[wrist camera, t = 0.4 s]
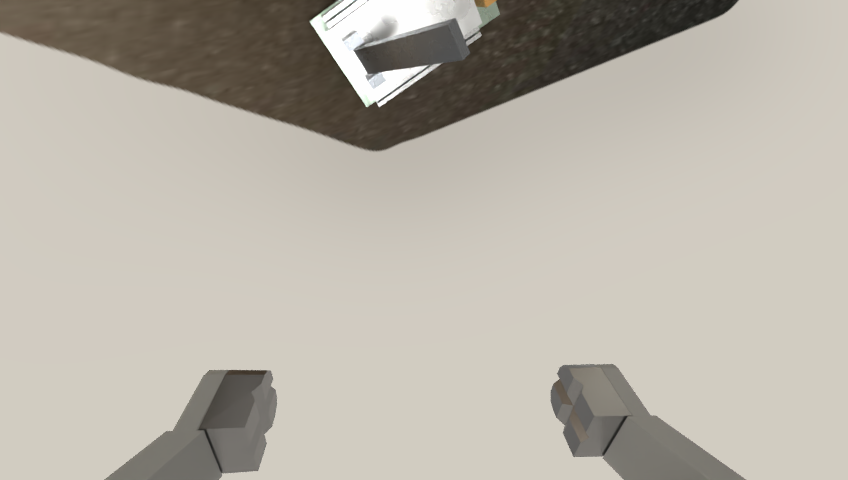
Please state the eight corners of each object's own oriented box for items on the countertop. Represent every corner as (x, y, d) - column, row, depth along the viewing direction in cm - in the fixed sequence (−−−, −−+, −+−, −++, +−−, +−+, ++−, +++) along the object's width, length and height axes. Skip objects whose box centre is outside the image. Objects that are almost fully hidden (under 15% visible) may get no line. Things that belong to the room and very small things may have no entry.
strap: (371, 69, 43) (366, 74, 43) (357, 46, 41) (351, 51, 41) (470, 53, 30) (463, 60, 30) (455, 17, 28) (448, 24, 28)
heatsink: (365, 104, 51) (373, 119, 45) (309, 20, 43) (310, 25, 37) (495, 13, 49) (521, 17, 43) (459, -91, 41) (485, -105, 35)
